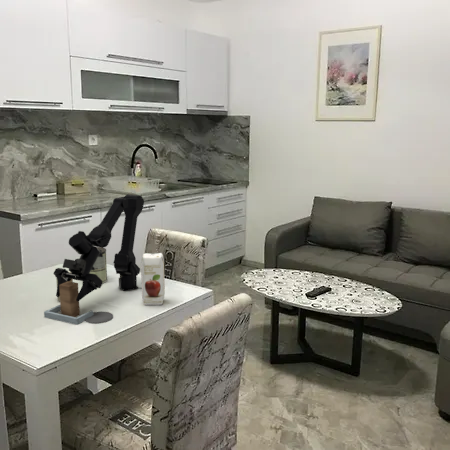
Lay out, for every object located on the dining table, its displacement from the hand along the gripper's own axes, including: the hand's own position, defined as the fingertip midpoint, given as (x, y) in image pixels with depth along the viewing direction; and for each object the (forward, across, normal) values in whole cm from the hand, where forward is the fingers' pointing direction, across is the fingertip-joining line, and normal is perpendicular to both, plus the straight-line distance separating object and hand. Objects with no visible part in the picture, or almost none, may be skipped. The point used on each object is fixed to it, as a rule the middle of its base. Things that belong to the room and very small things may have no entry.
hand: (66, 298), depth 171 cm
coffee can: (-21, -18, +30) cm, 41 cm away
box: (-4, -14, +14) cm, 20 cm away
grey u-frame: (+4, 0, +6) cm, 7 cm away
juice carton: (-13, +19, +23) cm, 33 cm away
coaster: (+2, +10, +8) cm, 13 cm away
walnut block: (+4, 0, +6) cm, 7 cm away
